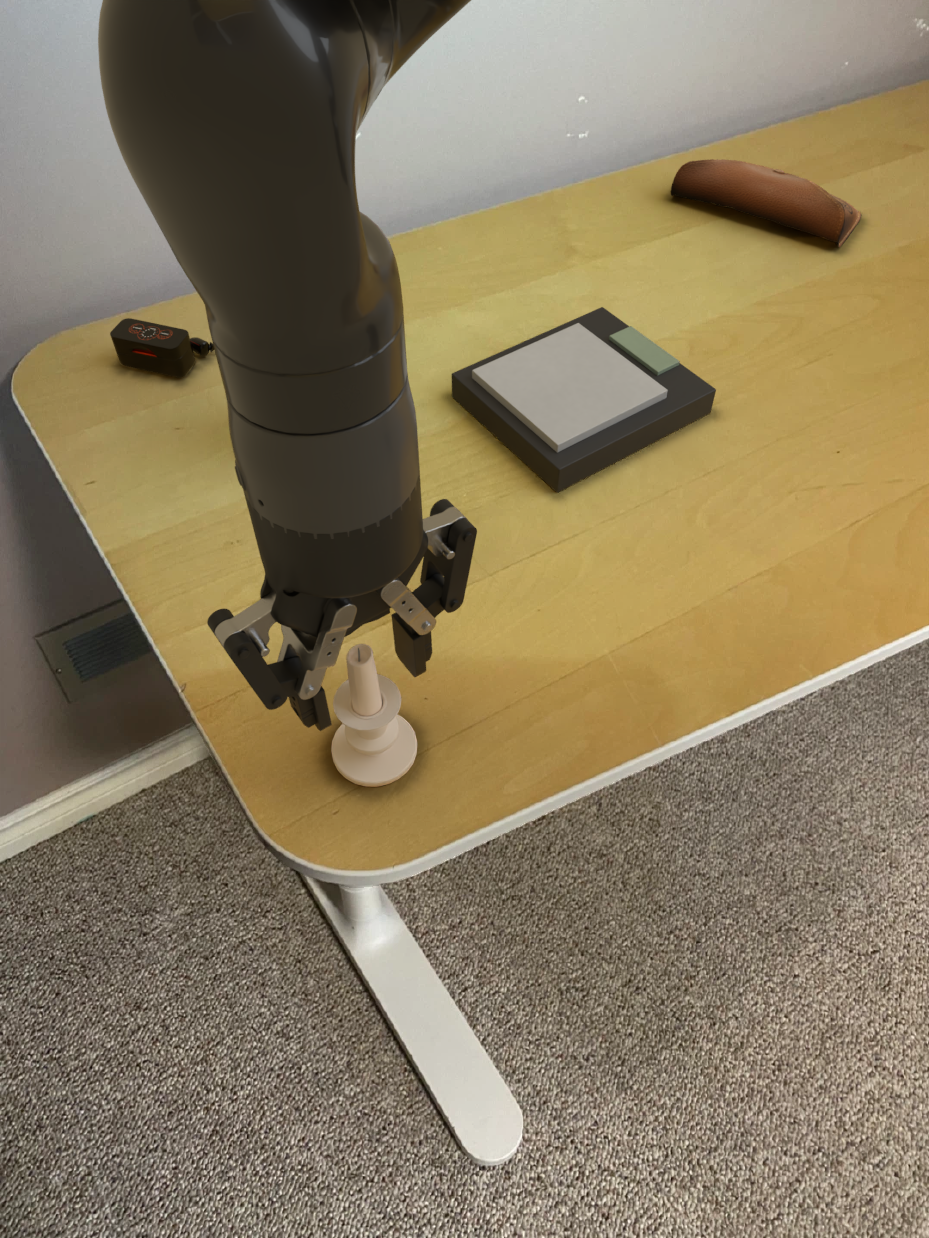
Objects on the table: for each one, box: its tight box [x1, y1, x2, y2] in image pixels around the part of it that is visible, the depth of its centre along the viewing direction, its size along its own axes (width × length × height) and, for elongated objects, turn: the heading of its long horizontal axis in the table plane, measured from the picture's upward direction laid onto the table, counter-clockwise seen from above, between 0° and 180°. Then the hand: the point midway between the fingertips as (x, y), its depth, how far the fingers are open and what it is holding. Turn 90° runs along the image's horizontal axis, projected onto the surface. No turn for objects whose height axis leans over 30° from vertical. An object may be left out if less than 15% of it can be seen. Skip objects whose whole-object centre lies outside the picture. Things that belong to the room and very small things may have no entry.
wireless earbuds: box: [109, 317, 215, 379], centre depth 82 cm, size 5×7×3 cm, turn 72°
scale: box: [451, 306, 717, 493], centre depth 78 cm, size 16×14×3 cm
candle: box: [330, 643, 418, 788], centre depth 55 cm, size 5×5×10 cm
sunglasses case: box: [670, 158, 863, 248], centre depth 96 cm, size 18×7×7 cm
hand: (365, 689), depth 54 cm, fingers open, 5 cm apart
